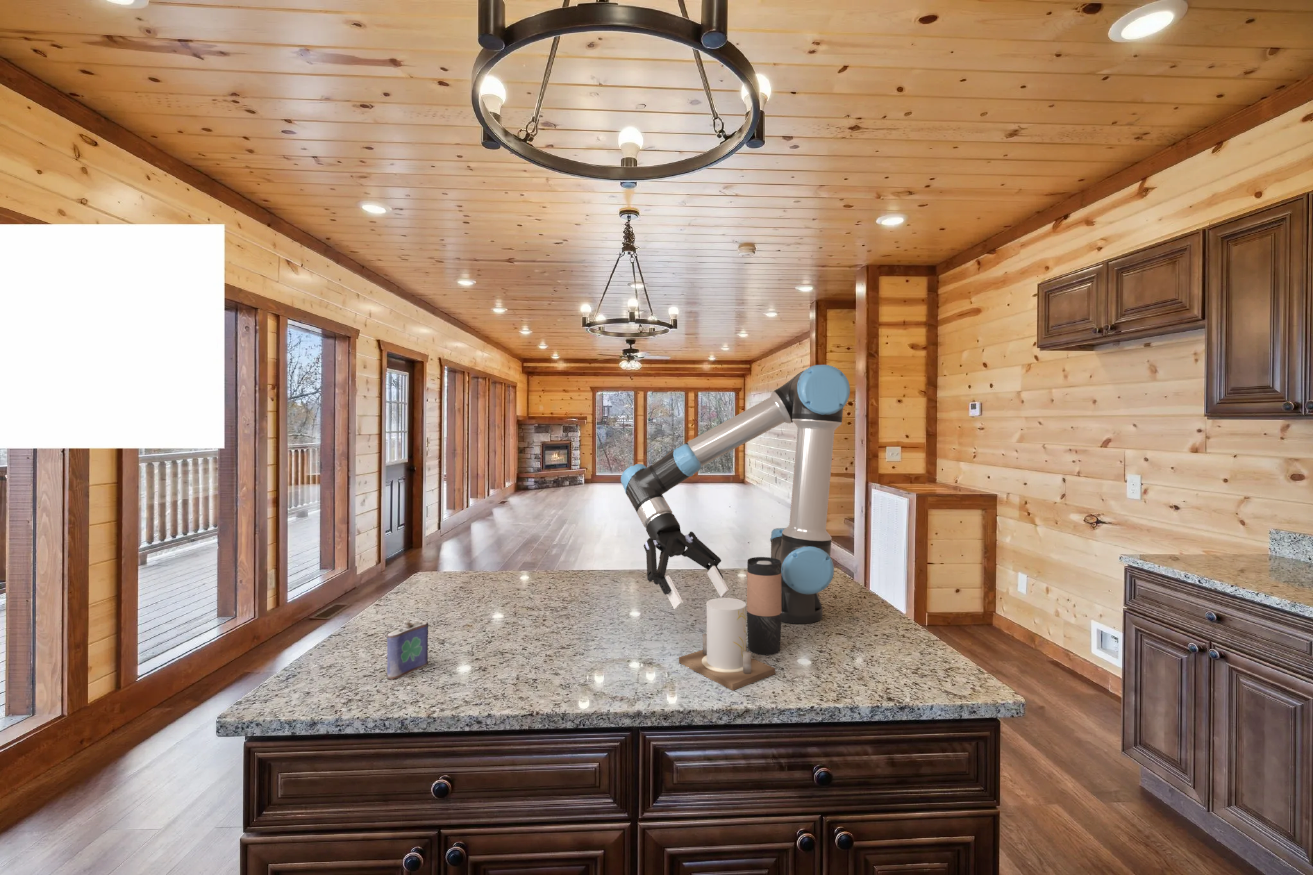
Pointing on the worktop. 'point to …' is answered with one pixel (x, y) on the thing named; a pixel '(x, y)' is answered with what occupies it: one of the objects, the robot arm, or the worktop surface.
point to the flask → (407, 649)
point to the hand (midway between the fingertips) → (702, 599)
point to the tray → (725, 677)
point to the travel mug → (764, 605)
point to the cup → (726, 632)
